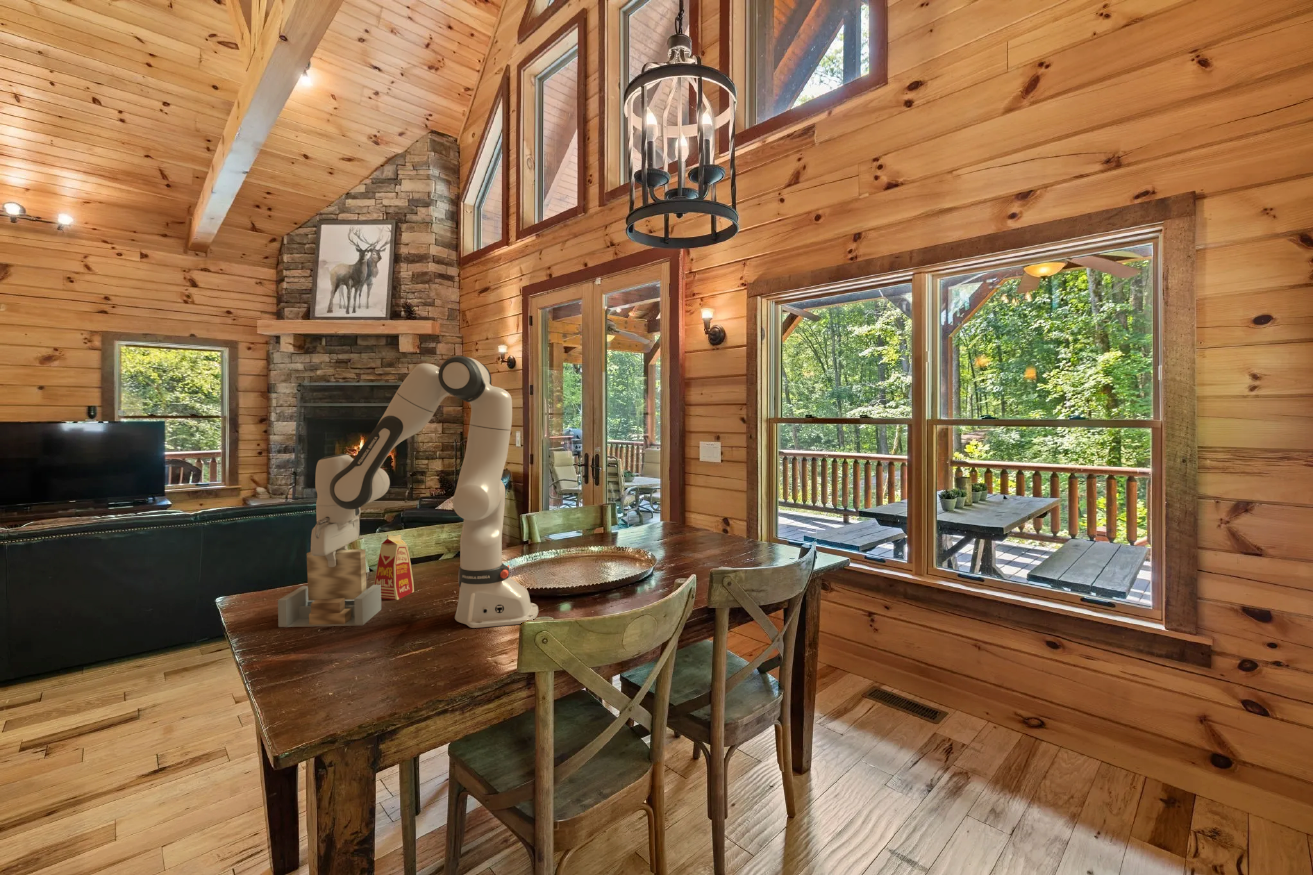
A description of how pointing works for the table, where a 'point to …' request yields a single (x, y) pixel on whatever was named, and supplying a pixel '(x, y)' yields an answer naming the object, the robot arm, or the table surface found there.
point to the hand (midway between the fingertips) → (336, 564)
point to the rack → (298, 607)
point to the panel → (337, 575)
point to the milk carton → (394, 569)
